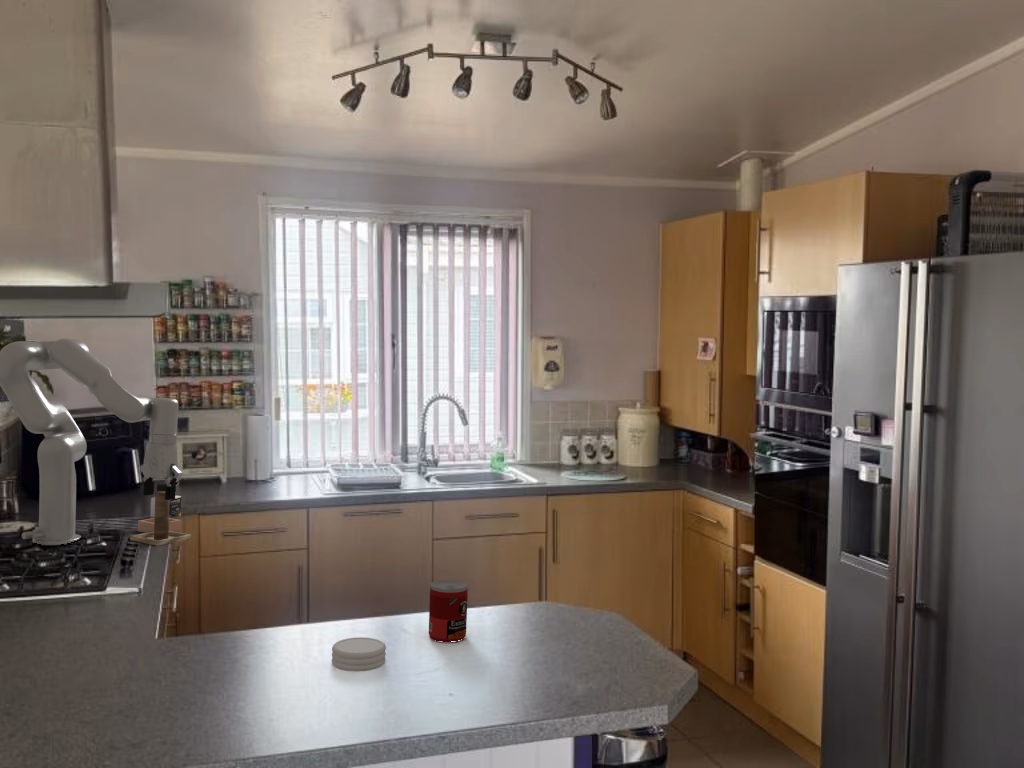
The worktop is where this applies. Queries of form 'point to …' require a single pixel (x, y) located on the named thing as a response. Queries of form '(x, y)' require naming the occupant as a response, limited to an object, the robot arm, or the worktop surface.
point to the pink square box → (148, 525)
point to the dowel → (161, 516)
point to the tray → (149, 539)
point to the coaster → (358, 654)
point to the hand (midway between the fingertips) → (159, 497)
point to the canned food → (448, 610)
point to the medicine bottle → (173, 506)
